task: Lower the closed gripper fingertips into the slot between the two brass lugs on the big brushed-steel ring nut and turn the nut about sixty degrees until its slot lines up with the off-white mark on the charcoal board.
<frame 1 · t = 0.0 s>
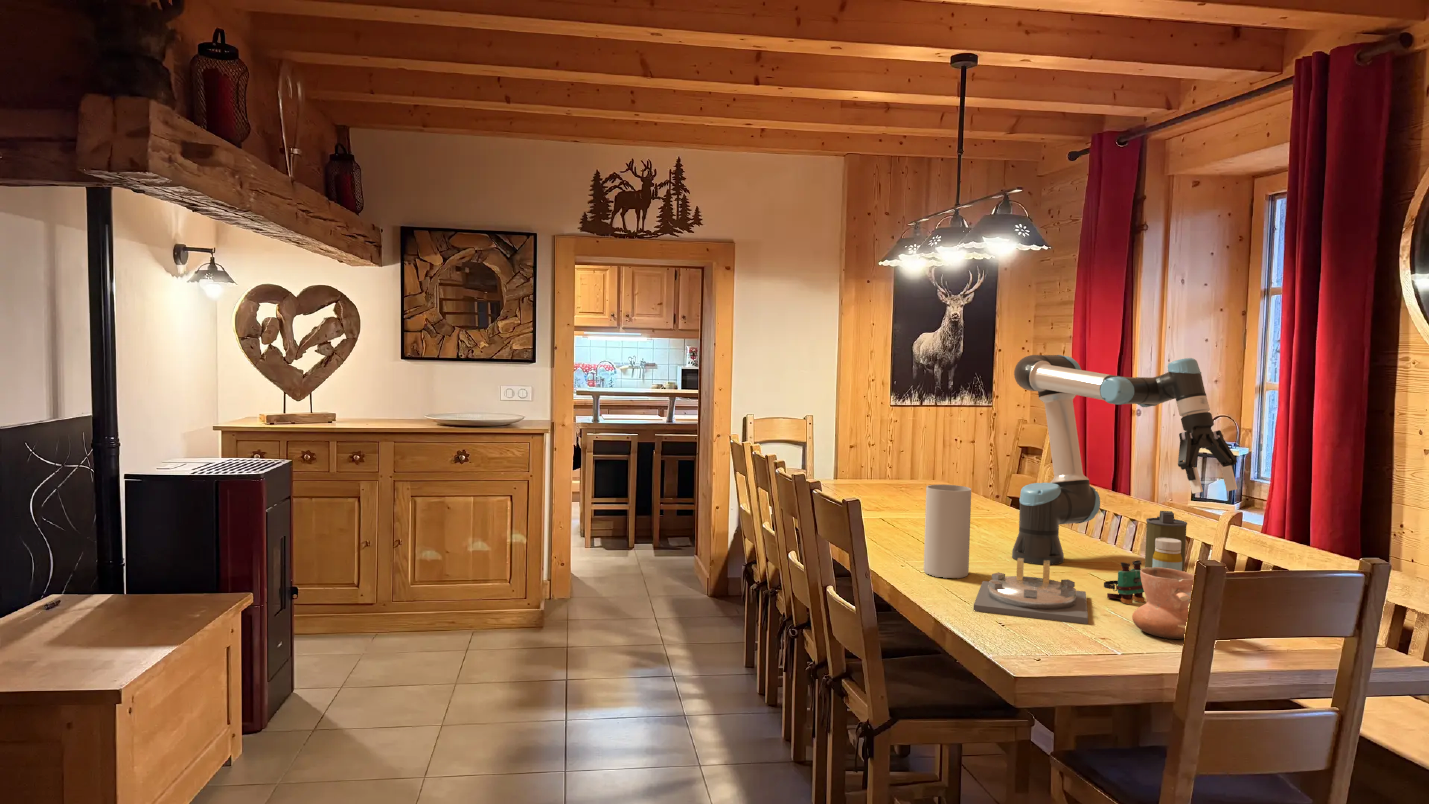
hand: (1215, 491, 240), 28 cm above the table, tool tilted 20°, fingers open, 13 cm apart
ceramic jug: (1165, 634, 207), on the table
canister: (1163, 582, 255), on the table
base board: (1031, 603, 229), on the table
cylinder vase: (945, 574, 259), on the table
ring nut: (1032, 582, 229), point 6 cm above the table, hinge at 0.0°
bottle: (1165, 596, 239), on the table
binoculars: (1122, 600, 235), on the table
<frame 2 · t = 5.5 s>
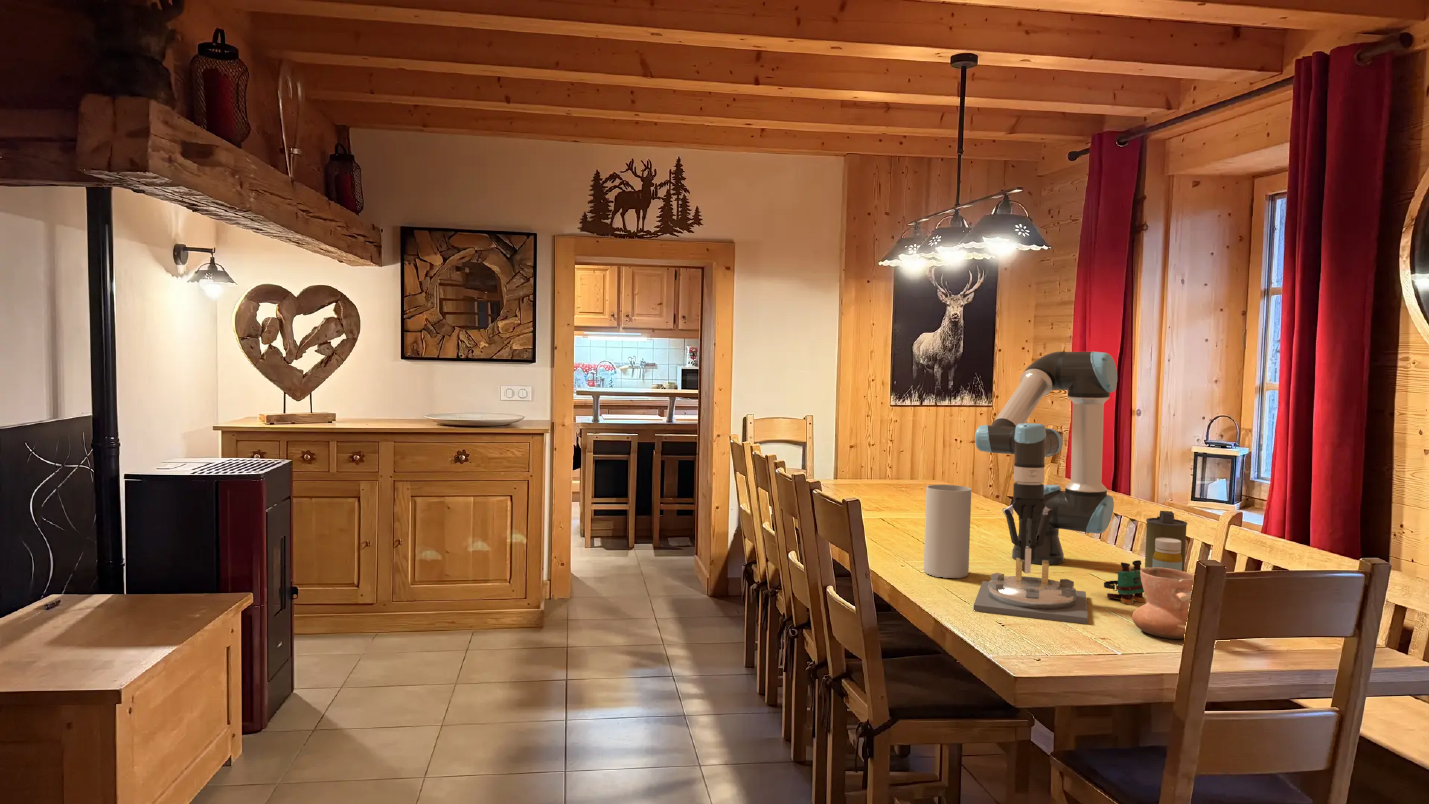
hand: (1026, 572, 236), 6 cm above the table, tool pointing down, fingers closed
ring nut: (1032, 582, 229), point 6 cm above the table, hinge at 2.5°, touching gripper
everything else where it was.
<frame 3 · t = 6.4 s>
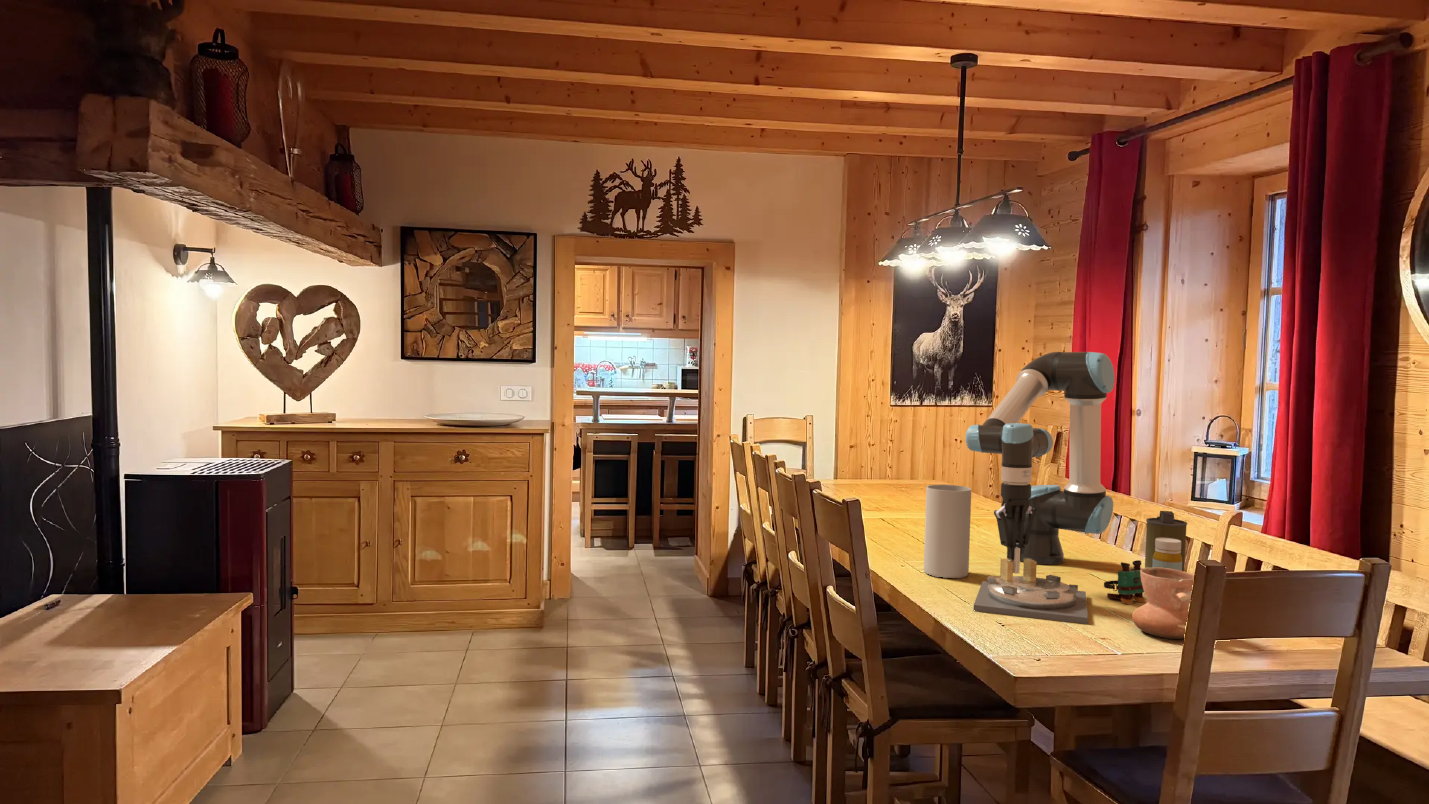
hand: (1013, 572, 236), 6 cm above the table, tool pointing down, fingers closed
ring nut: (1032, 582, 229), point 6 cm above the table, hinge at 29.6°, touching gripper
everything else where it was.
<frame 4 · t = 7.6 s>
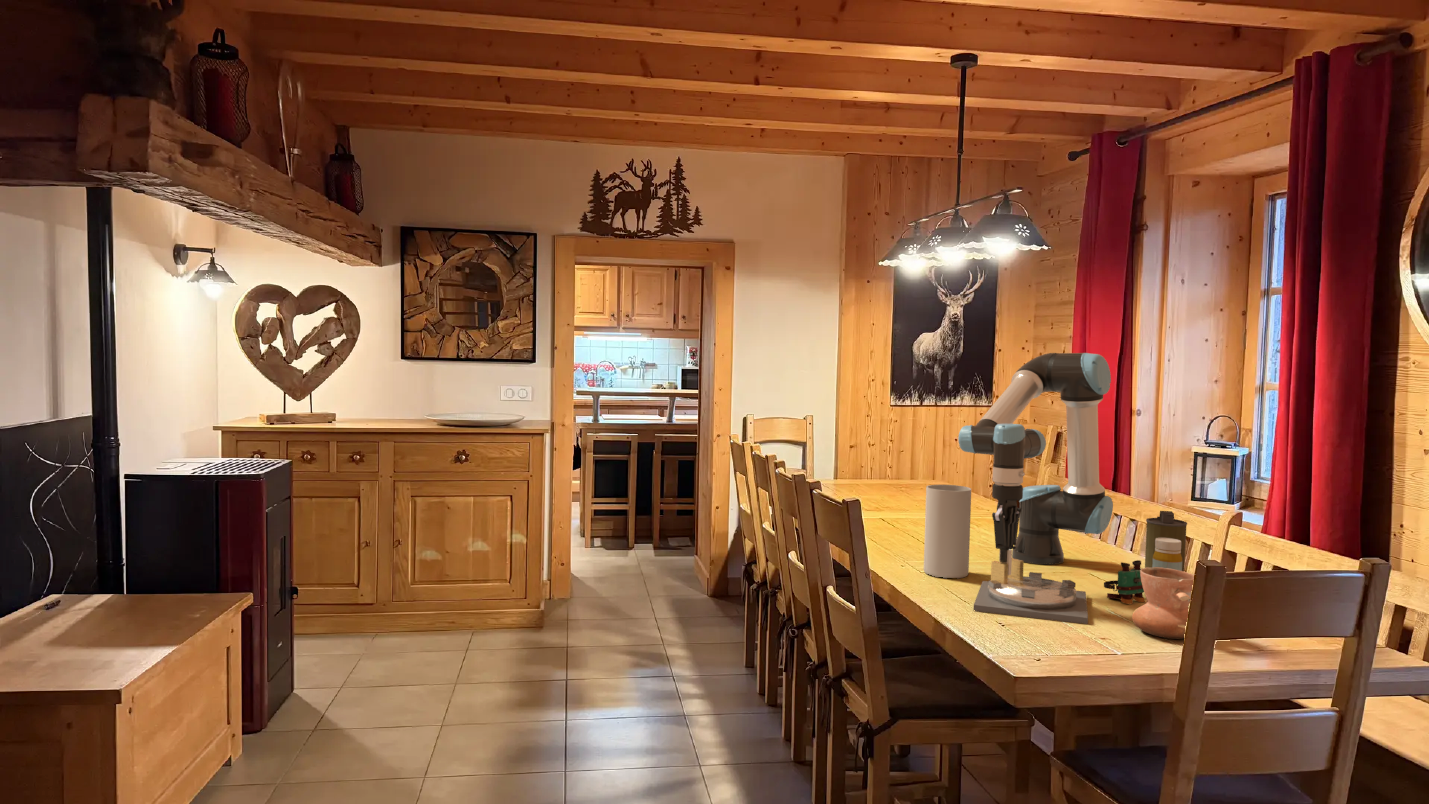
hand: (1005, 573, 234), 6 cm above the table, tool pointing down, fingers closed
ring nut: (1032, 582, 229), point 6 cm above the table, hinge at 56.9°, touching gripper
everything else where it was.
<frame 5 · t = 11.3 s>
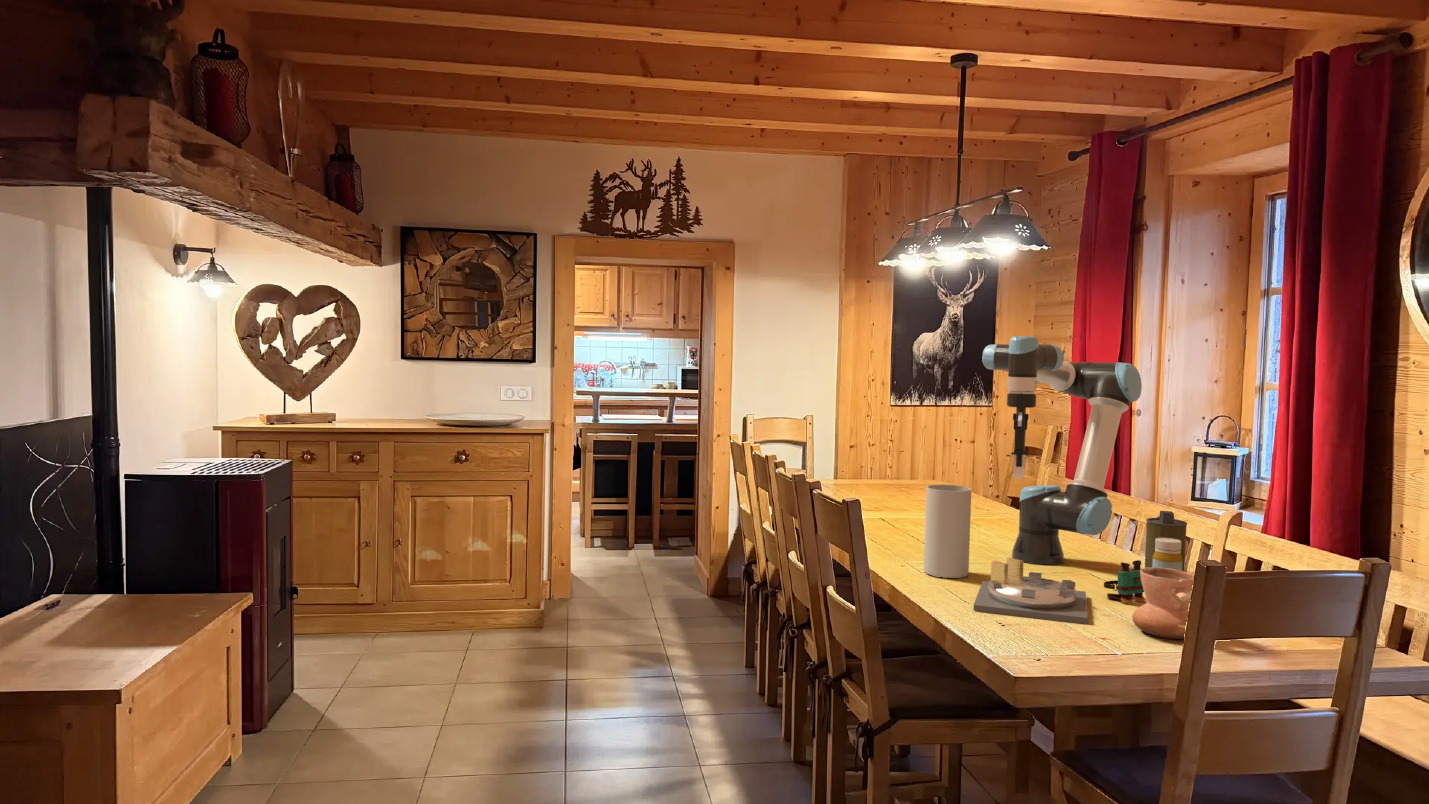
hand: (1018, 478, 248), 29 cm above the table, tool pointing down, fingers closed
ring nut: (1032, 582, 229), point 6 cm above the table, hinge at 57.1°
everything else where it was.
at the end: ring nut at +57° (first picture: +0°) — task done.
